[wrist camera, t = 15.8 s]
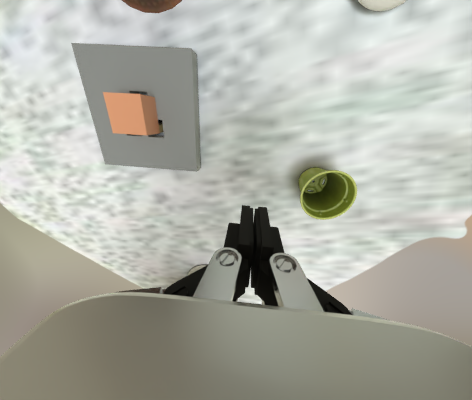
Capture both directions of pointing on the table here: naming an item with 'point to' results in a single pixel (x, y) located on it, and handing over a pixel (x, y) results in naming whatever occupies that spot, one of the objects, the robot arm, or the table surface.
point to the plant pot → (326, 192)
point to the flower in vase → (381, 4)
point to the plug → (132, 113)
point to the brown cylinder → (152, 5)
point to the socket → (155, 85)
